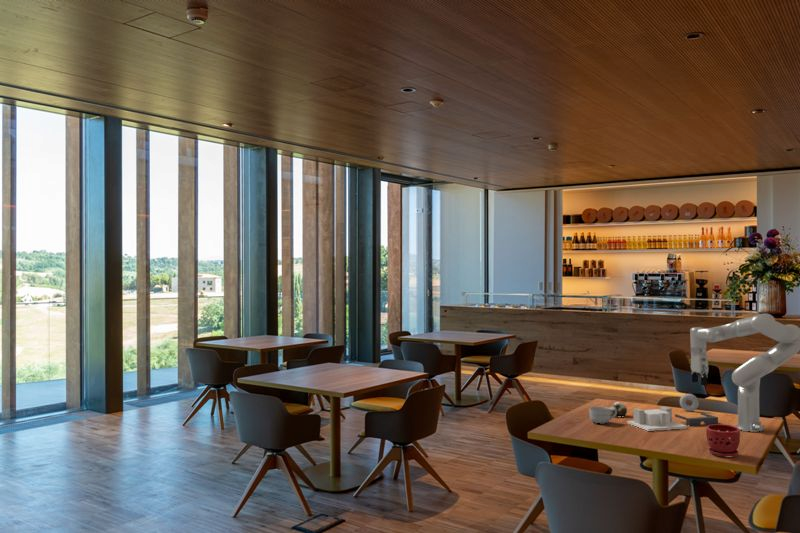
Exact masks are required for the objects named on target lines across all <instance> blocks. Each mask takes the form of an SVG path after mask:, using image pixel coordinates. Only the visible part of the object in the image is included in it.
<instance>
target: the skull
mask: <svg viewBox="0 0 800 533" xmlns="http://www.w3.org/2000/svg"><path fill="white" fill-rule="evenodd" d="M609 408H610V410H611V409H615V410H616V411H617V415H616V416H615V417H614V418H618V419H619V418H620V419H621V417H622V416H625V415H626V416H627V412H628V408H627V406H626V405H625V404H623V403H622V402H621V401H616V402H615V401H614V402H613V404H611V405H610V407H609ZM614 414H615V411H612V412H611V414H610V417H611V416H613V415H614ZM618 416H621V417H618ZM626 416H625V417H626Z"/></svg>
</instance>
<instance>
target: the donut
mask: <svg viewBox="0 0 800 533" xmlns="http://www.w3.org/2000/svg"><path fill="white" fill-rule="evenodd" d="M687 401H691V404H687ZM699 402H700V401H699V398H697V396H696V395H694V394H693V393H685V394H683V395H682V396H680V398H679V405H680V407H681V408H682V409H683V410H685V411H687V412H694V411H696V410H697V409H698V407H699V404H700V403H699Z"/></svg>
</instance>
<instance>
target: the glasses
mask: <svg viewBox="0 0 800 533" xmlns="http://www.w3.org/2000/svg"><path fill="white" fill-rule="evenodd" d="M700 415H701V416H697V417H685V416H683V415H679V414H676V413H675V414H674V417H675V418H679V419H681V420H685V424H686V425H685V426H688V425H689V426H688V427H696V426H697V427H698V425H699V426H702V423H703V424H704V425H707V426H708V425H712V424H719V417H718V416H715V415H712V414H708V413H705V412H700Z"/></svg>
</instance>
